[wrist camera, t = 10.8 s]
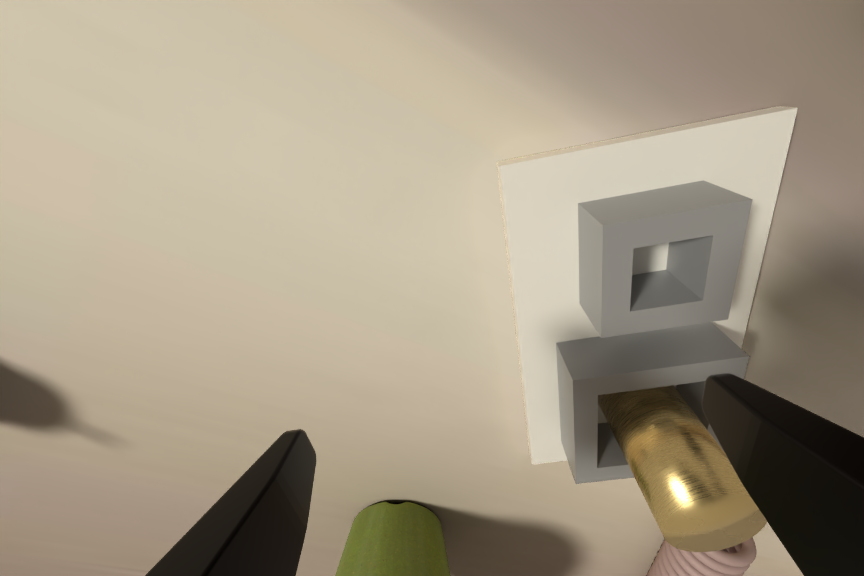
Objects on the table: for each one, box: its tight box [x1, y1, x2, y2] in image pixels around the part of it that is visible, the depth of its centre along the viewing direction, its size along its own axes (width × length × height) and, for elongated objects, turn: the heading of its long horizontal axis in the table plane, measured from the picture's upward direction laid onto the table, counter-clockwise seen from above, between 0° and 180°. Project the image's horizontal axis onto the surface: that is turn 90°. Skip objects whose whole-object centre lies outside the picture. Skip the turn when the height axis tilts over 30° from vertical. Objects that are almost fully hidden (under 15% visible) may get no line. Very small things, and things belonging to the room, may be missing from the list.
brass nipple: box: [598, 385, 767, 552], centre depth 19 cm, size 4×4×8 cm
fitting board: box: [497, 106, 798, 484], centre depth 20 cm, size 12×20×4 cm, turn 11°
